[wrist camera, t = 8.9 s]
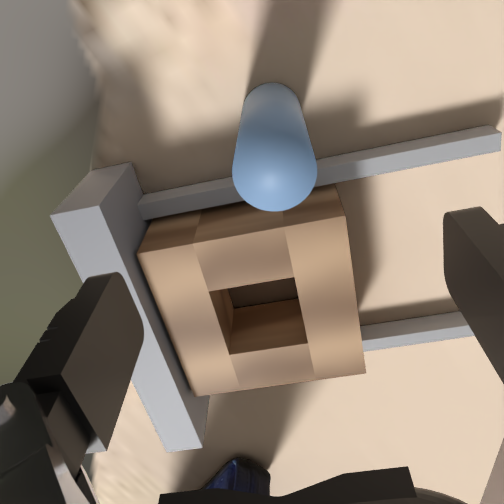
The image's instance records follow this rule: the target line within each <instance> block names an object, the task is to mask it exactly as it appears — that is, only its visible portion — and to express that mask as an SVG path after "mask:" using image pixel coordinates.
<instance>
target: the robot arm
mask: <svg viewBox="0 0 504 504" xmlns="http://www.w3.org/2000/svg"><path fill="white" fill-rule="evenodd" d="M443 250H444V275H445V281H446V284H447V288H448V290H449V293H450V295H451V296H452V298H453V300H454V301H455V303H456V305H457V306H458V308H459V310H460V311H461V313H462V315H463V317H464V318H465V320H466V322H467V323H468V325H469V327H470V328H471V330H472V332H473V333H474V335H475V337H476V338H477V340H478V342H479V343H480V345H481V347H482V348H483V350H484V352H485V353H486V355H487V357H488V359H489V360H490V362H491V364H492V365H493V367H494V369H495V370H496V372H497V374H498V375H499V377H500V379H501V380H502V382H503V384H504V224H498V223H497V222H496V221H495V220H494V219H493V218H492V217H491V216H490V215H489V214H488V213H487V212H486V211H485V210H484V209H483V208H482V207H473V208H468V209H462V210H457V211H451V212H446V213H445V215H444V218H443ZM47 329H48V330H46V331H45V332H44V333H43V335H42V337H41V338H40V343H37V345H36V346H35V348H34V349H33V351H32V352H31V354H30V356H29V357H28V359H27V360H26V362H25V364H24V365H23V367H22V368H21V370H20V372H19V373H18V375H17V376H16V378H15V380H14V381H13V382H12V383H7V384H4V385H1V386H0V504H100V503H99V500H98V498H97V496H96V494H95V491H94V489H93V487H92V484H91V482H90V480H89V478H88V475H87V473H86V472H85V470H84V468H83V467H82V465H81V464H82V461H83V459H84V456H85V454H87V453H95V452H103V451H107V449H108V446H109V443H110V440H111V437H112V434H113V431H114V428H115V425H116V422H117V419H118V416H119V413H120V410H121V407H122V404H123V401H124V398H125V395H126V392H127V389H128V386H129V383H130V380H131V377H132V374H133V371H134V368H135V365H136V362H137V359H138V356H139V353H140V350H141V348H142V345H143V341H144V326H143V322H142V319H141V316H140V314H139V311H138V309H137V307H136V305H135V302H134V300H133V298H132V296H131V293H130V291H129V289H128V286H127V284H126V282H125V280H124V278H123V276H122V275H121V274H120V273H119V272H112V273H107V274H101V275H96V276H90V277H88V278H87V279H86V280H85V282H84V284H83V285H82V287H81V289H80V290H79V292H78V294H77V296H76V297H75V298H74V299H71V300H70V301H69V302H68V303H67V304H66V305H65V306H64V307H62V308H61V309H60V310H59V311H58V312H57V313H56V314H55V316H54V318H53V319H52V321H51V322H50V324H49V325H48V327H47ZM158 504H467V503H465V502H463V501H461V500H459V499H456V498H453V497H451V496H448V495H445V494H443V493H439V492H435V491H431V490H427V489H422V488H416V487H414V485H413V482H412V478H411V475H410V472H409V468H408V466H407V467H398V468H389V469H380V470H371V471H362V472H354V473H345V474H341V475H339V476H336V477H333V478H331V479H328V480H325V481H323V482H320V483H317V484H315V485H312V486H309V487H307V488H304V489H301V490H299V491H296V492H293V493H291V494H288V495H285V496H280V497H274V496H267V495H261V494H255V493H248V492H242V491H235V490H229V489H222V488H211V489H202V490H194V491H185V492H176V493H167V494H160V498H159V503H158ZM480 504H504V439H503V441H502V444H501V447H500V450H499V452H498V455H497V458H496V461H495V463H494V466H493V469H492V472H491V475H490V477H489V480H488V483H487V486H486V488H485V491H484V494H483V497H482V499H481V502H480Z"/></svg>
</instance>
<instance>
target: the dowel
mask: <svg viewBox="0 0 504 504" xmlns="http://www.w3.org/2000/svg"><path fill="white" fill-rule="evenodd" d="M232 177H233V182H234V185H235V187H236V190H237V191H238V193H239V194H240V196H241V197H242V198H243V199H244V200H245V201H246V202H247V203H249V204H250V205H252V206H254V207H256V208H258V209H261V210H265V211H283V210H287V209H290V208H293V207H294V206H296V205H298V204H299V203H301V202H302V201H303V200H304V199H306V197H307V196H308V195H309V194H310V192H311V191H312V189H313V187H314V185H315V182H316V178H317V163H316V159H315V155H314V152H313V148H312V145H311V141H310V138H309V134H308V131H307V127H306V124H305V120H304V117H303V113H302V110H301V106H300V103H299V100H298V98H297V96H296V95H295V93H294V92H293V91H292V90H291V89H289V88H288V87H286V86H285V85H282V84H279V83H265V84H262V85H259V86H257V87H256V88H254V89H253V90H252V91H251V92H250V93H249V94H248V96H247V97H246V99H245V101H244V104H243V108H242V114H241V120H240V126H239V131H238V137H237V143H236V149H235V154H234V160H233V166H232Z"/></svg>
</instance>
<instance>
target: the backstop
mask: <svg viewBox="0 0 504 504" xmlns="http://www.w3.org/2000/svg"><path fill="white" fill-rule="evenodd" d="M501 134H502V133H501V132H500V131H498V130H497V129H495V128H494V127H492V126H491V125H486V126H481V127H476V128H471V129H466V130H461V131H456V132H451V133H446V134H441V135H436V136H431V137H426V138H421V139H416V140H411V141H406V142H401V143H396V144H391V145H386V146H381V147H376V148H371V149H366V150H361V151H356V152H352V153H347V154H342V155H337V156H332V157H327V158H322V159H317V160H316V163H317V178H316V182H315V185H314V187H317V186H322V185H327V184H333V183H338V182H343V181H348V180H353V179H358V178H364V177H369V176H374V175H379V174H384V173H389V172H395V171H400V170H405V169H410V168H415V167H420V166H426V165H431V164H436V163H441V162H446V161H451V160H456V159H462V158H467V157H472V156H477V155H482V154H487V153H493V152H498V151H501ZM240 201H245V200H244V199H243V198H242V197H241V196H240V194H239V193H238V191H237V190H236V187H235V185H234V182H233V177H227V178H223V179H218V180H213V181H208V182H203V183H198V184H193V185H188V186H183V187H178V188H173V189H168V190H163V191H158V192H153V193H148V194H143V193H142V190H141V187H140V184H139V182H138V179H137V176H136V174H135V171H134V168H133V165H132V163H131V162H128V163H123V164H118V165H114V166H109V167H104V168H99V169H95V170H91V171H90V172H89V173H88V174H87V175H86V176H85V177H84V179H83V180H82V181H81V182H80V183H79V184H78V185H77V186H76V187H75V188H74V189H73V191H72V192H71V193H70V194H69V195H68V196H67V197H66V198H65V199H64V201H62V203H61V204H60V205H59V206H58V207H57V208H56V209H55V210H54V211H53V212H52V214H51V215H50V217H51V219H52V221H53V223H54V225H55V227H56V229H57V231H58V233H59V235H60V237H61V239H62V241H63V243H64V245H65V247H66V249H67V251H68V253H69V255H70V257H71V259H72V261H73V264H74V265H75V268H76V269H77V272H78V274H79V276H80V277H81V280H82V282H83V284H84V282H85V280H86V279H87V278H88V277H90V276H96V275H101V274H107V273H112V272H119V273H120V274H121V275H122V276H123V278H124V280H125V282H126V284H127V286H128V289H129V291H130V293H131V296H132V298H133V300H134V302H135V305H136V307H137V309H138V311H139V314H140V316H141V319H142V322H143V326H144V341H143V345H142V348H141V350H140V353H139V356H138V359H137V362H136V365H135V368H134V371H133V374H132V377H131V381H132V383H133V385H134V387H135V389H136V391H137V393H138V395H139V397H140V399H141V401H142V403H143V405H144V407H145V409H146V411H147V413H148V415H149V417H150V419H151V421H152V423H153V425H154V427H155V429H156V432H157V434H158V436H159V438H160V440H161V442H162V444H163V446H164V448H165V450H166V452H173V451H181V450H189V449H198V448H203V442H204V434H205V427H206V419H207V412H208V404H209V397H210V395H205V396H198V397H194V395H193V392H192V390H191V387H190V385H189V382H188V380H187V377H186V375H185V373H184V370H183V368H182V365H181V363H180V360H179V358H178V355H177V353H176V350H175V348H174V346H173V343H172V341H171V338H170V336H169V333H168V331H167V328H166V326H165V323H164V321H163V319H162V316H161V314H160V311H159V309H158V306H157V304H156V301H155V299H154V296H153V294H152V291H151V289H150V287H149V284H148V282H147V279H146V277H145V274H144V272H143V269H142V267H141V264H140V262H139V260H138V257H137V255H136V254H137V252H138V249H139V247H140V245H141V243H142V241H143V239H144V237H145V235H146V232H147V230H148V228H149V226H150V224H151V222H152V218H157V217H162V216H167V215H173V214H178V213H183V212H188V211H193V210H198V209H204V208H209V207H214V206H219V205H224V204H229V203H235V202H240ZM360 331H361V338H362V346H363V352H365V351H372V350H379V349H386V348H393V347H400V346H407V345H414V344H421V343H428V342H435V341H442V340H449V339H455V338H462V337H469V336H475V335H474V333H473V332H472V330H471V328H470V327H469V325H468V323H467V322H466V320H465V318H464V317H463V315H462V313H461V311H458V312H451V313H445V314H438V315H432V316H425V317H418V318H412V319H405V320H399V321H392V322H385V323H379V324H372V325H366V326H360Z"/></svg>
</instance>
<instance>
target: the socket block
mask: <svg viewBox="0 0 504 504" xmlns="http://www.w3.org/2000/svg"><path fill="white" fill-rule="evenodd" d="M136 255H137V257H138V260H139V262H140V264H141V267H142V269H143V272H144V274H145V277H146V279H147V282H148V284H149V287H150V289H151V291H152V294H153V296H154V299H155V301H156V304H157V306H158V309H159V311H160V314H161V316H162V319H163V321H164V323H165V326H166V328H167V331H168V333H169V336H170V338H171V341H172V343H173V346H174V348H175V350H176V353H177V355H178V358H179V360H180V363H181V365H182V368H183V370H184V373H185V375H186V377H187V380H188V382H189V385H190V387H191V390H192V392H193V395H194V397H198V396H205V395H212V394H219V393H227V392H234V391H241V390H248V389H256V388H263V387H270V386H278V385H285V384H292V383H299V382H307V381H314V380H321V379H328V378H336V377H343V376H350V375H357V374H365V373H366V369H365V361H364V354H363V346H362V338H361V331H360V323H359V315H358V308H357V300H356V292H355V285H354V277H353V269H352V262H351V254H350V246H349V239H348V231H347V223H346V216H345V213H344V210H343V207H342V204H341V201H340V198H339V195H338V192H337V189H336V187H335V184H334V183H333V184H327V185H322V186H317V187H313V189H312V191H311V192H310V194H309V195H308V196H307V197H306V199H304V200H303V201H302V202H301V203H299V204H298V205H296V206H294V207H293V208H290V209H287V210H283V211H265V210H261V209H258V208H256V207H254V206H252V205H250V204H249V203H247V202H246V201H240V202H235V203H229V204H224V205H219V206H214V207H209V208H204V209H198V210H193V211H188V212H183V213H178V214H173V215H167V216H162V217H157V218H153V220H152V222H151V224H150V226H149V228H148V230H147V232H146V235H145V237H144V239H143V241H142V243H141V245H140V247H139V249H138V252H137V254H136ZM292 277H294V278H295V283H296V287H297V292H298V297H299V298H298V299H292V300H286V301H280V302H274V303H267V304H261V305H255V306H249V307H243V308H237V309H234V308H233V305H232V302H231V298H230V295H229V292H228V288H232V287H238V286H244V285H250V284H256V283H262V282H268V281H274V280H280V279H286V278H292Z"/></svg>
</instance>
